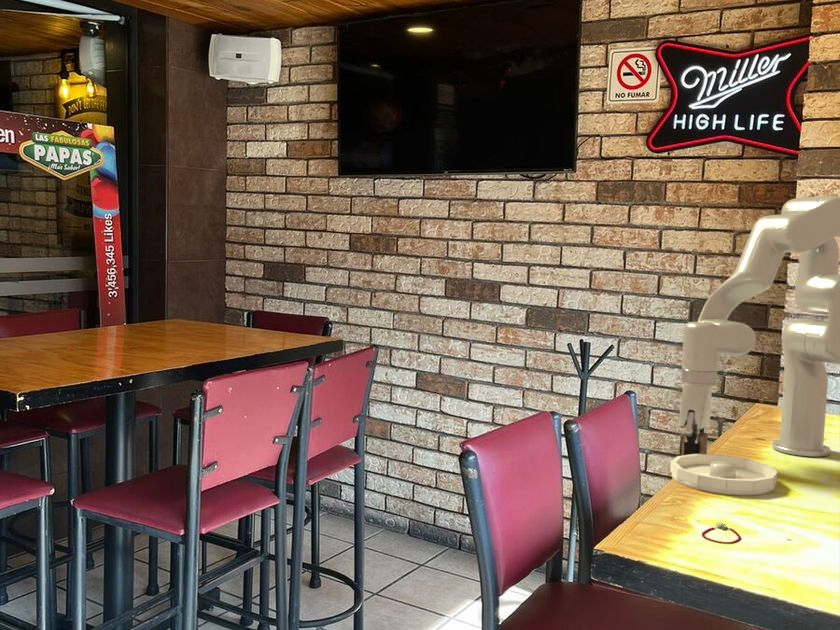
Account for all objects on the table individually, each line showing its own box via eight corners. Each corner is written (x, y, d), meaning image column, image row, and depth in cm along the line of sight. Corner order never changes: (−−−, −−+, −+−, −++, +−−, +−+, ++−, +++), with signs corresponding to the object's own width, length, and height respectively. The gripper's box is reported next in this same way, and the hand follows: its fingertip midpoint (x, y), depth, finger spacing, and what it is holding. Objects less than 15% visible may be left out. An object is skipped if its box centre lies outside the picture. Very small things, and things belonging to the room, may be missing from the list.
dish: (685, 462, 186) (685, 447, 186) (782, 478, 176) (783, 461, 175) (660, 483, 169) (661, 466, 169) (765, 502, 159) (767, 483, 158)
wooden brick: (686, 456, 192) (688, 430, 191) (706, 459, 190) (707, 433, 189) (681, 460, 188) (683, 433, 188) (701, 463, 186) (703, 436, 185)
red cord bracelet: (709, 525, 145) (709, 519, 145) (745, 532, 142) (746, 526, 142) (698, 540, 138) (698, 534, 137) (736, 548, 135) (737, 542, 134)
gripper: (690, 371, 196) (686, 447, 198) (671, 380, 182) (667, 462, 184) (724, 374, 192) (719, 452, 194) (707, 384, 178) (702, 468, 180)
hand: (694, 456), depth 189 cm, fingers closed on wooden brick, 4 cm apart
